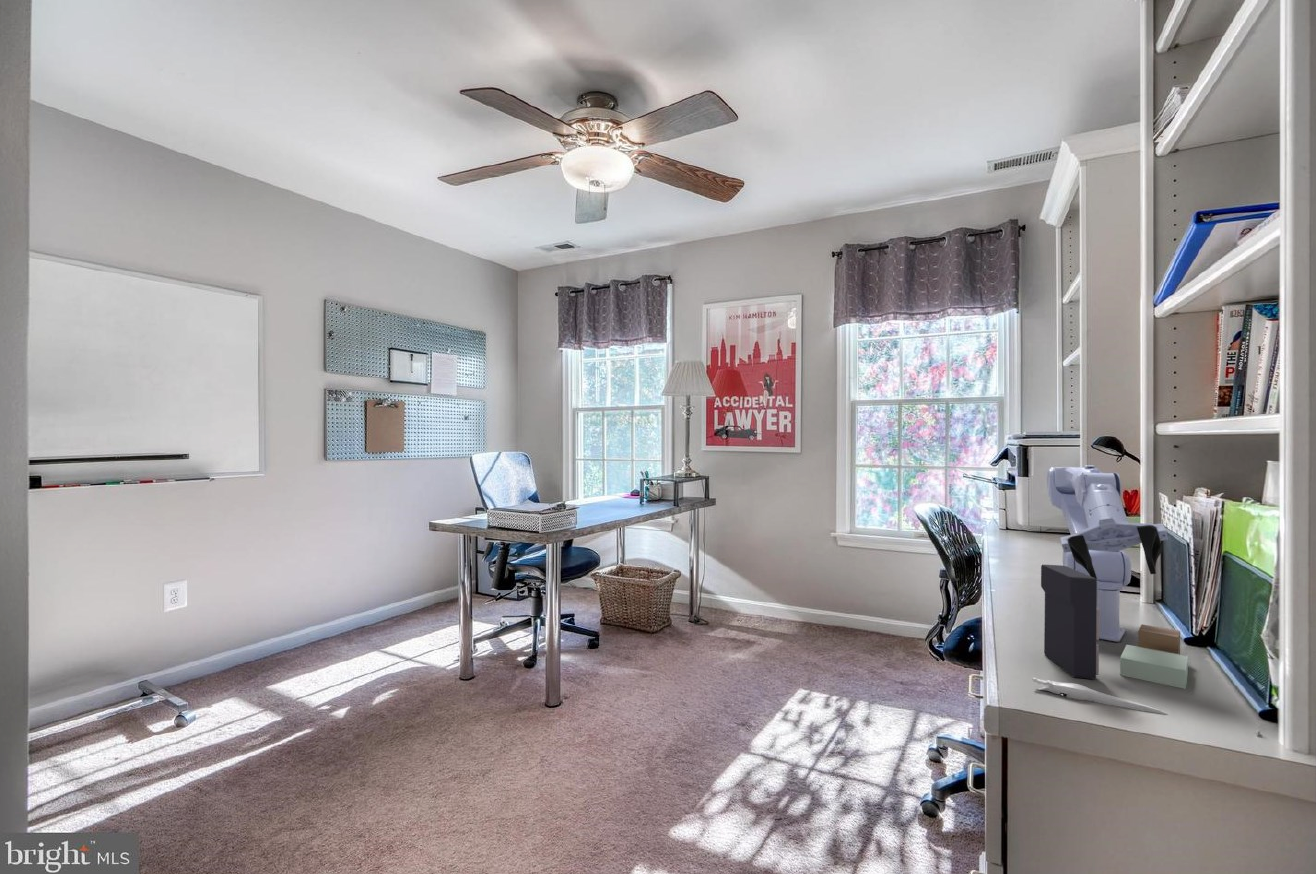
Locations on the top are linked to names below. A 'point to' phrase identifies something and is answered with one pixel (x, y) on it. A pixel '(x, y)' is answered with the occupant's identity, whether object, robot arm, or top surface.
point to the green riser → (1154, 666)
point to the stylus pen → (1091, 695)
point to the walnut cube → (1159, 639)
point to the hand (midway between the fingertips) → (1121, 572)
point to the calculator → (1071, 620)
